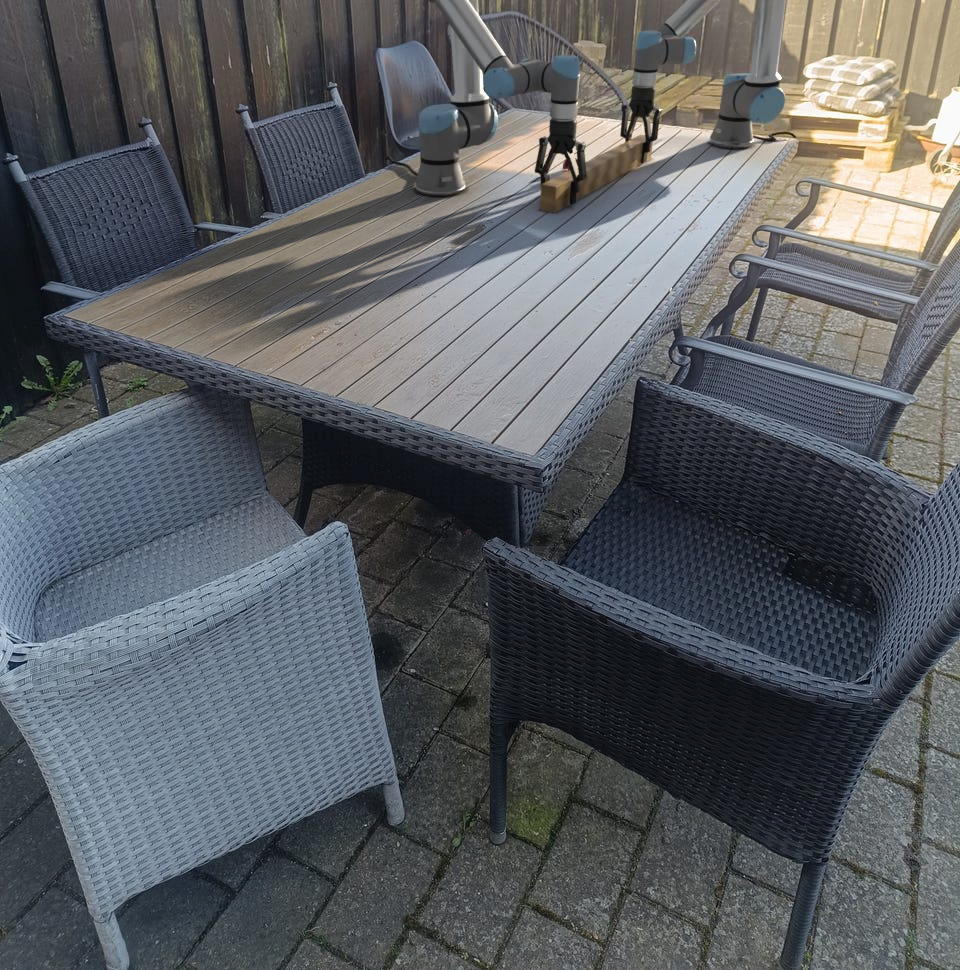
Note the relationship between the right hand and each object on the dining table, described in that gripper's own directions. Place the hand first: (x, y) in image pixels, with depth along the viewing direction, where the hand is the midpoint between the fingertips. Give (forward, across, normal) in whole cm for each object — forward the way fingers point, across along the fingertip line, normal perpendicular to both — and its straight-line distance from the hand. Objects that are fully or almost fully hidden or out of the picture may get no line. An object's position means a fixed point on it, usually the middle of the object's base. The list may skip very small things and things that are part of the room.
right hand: (636, 160), depth 283 cm
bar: (+1, 0, +27) cm, 27 cm away
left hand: (-1, 0, +54) cm, 55 cm away
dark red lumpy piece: (+1, +13, +21) cm, 25 cm away
